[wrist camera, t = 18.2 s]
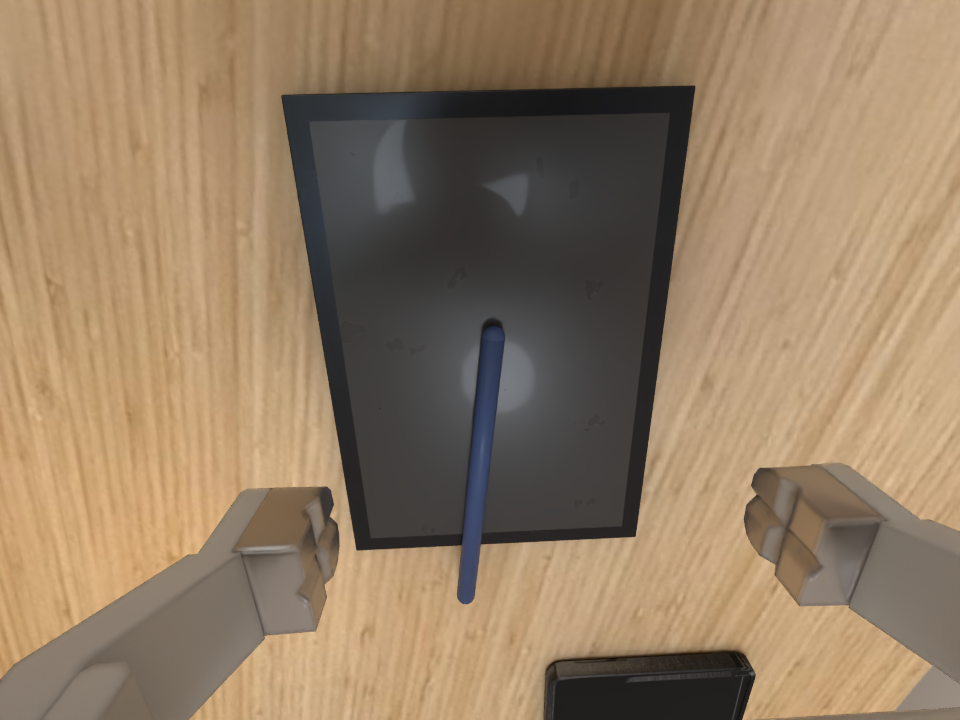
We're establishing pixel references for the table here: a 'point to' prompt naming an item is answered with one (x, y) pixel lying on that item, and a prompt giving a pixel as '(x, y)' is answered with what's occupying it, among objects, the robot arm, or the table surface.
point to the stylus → (480, 459)
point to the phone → (650, 688)
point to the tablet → (491, 298)
